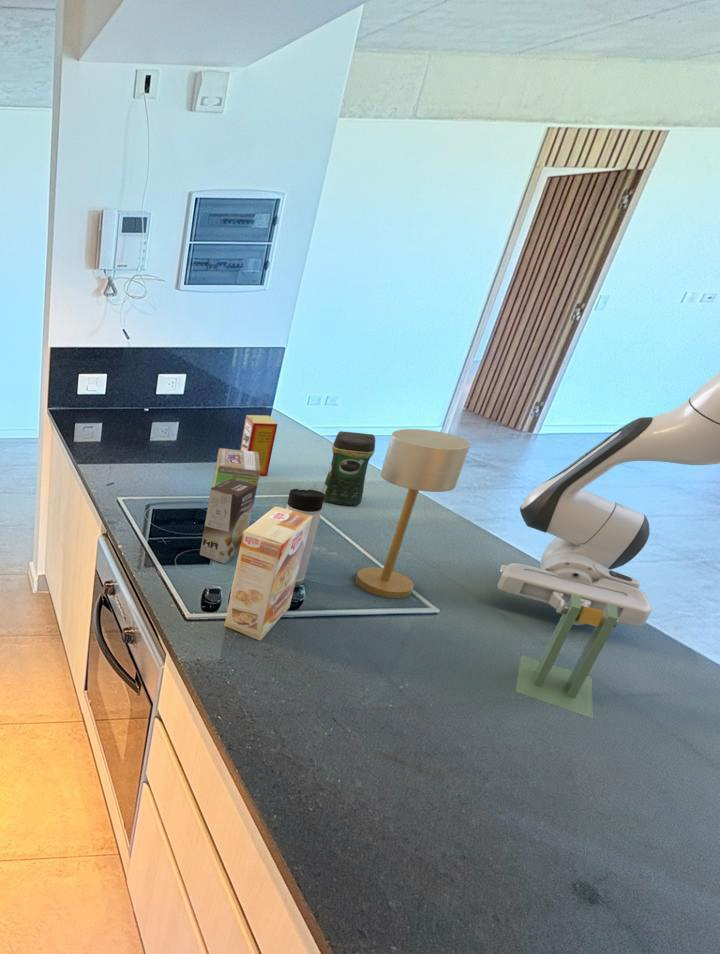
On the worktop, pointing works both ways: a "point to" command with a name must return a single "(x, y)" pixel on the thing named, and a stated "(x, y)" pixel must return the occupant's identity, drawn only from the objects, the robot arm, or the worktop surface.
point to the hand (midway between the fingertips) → (569, 611)
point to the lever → (588, 616)
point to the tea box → (237, 466)
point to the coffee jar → (348, 468)
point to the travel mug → (312, 506)
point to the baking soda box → (259, 438)
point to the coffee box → (227, 519)
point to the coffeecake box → (267, 571)
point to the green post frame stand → (560, 682)
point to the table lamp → (413, 493)
